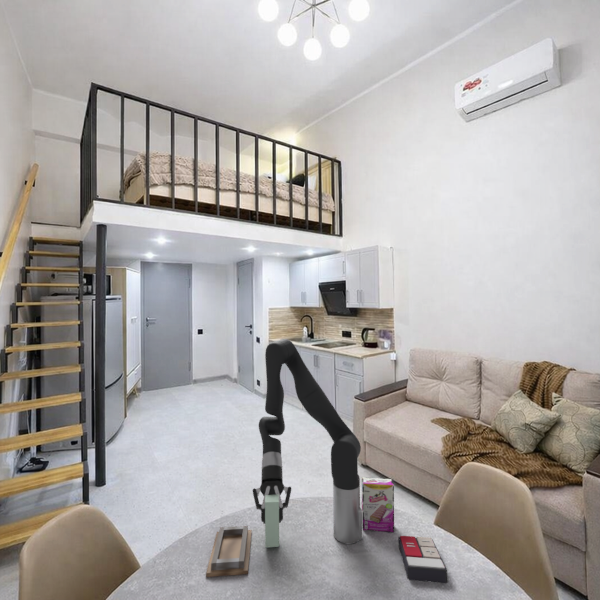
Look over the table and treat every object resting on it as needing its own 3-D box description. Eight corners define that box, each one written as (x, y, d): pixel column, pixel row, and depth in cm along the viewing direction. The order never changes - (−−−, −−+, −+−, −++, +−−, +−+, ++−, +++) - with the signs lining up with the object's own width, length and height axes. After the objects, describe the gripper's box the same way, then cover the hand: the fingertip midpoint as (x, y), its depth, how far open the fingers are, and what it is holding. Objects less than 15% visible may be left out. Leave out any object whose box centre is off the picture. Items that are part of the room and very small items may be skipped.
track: (251, 532, 115) (251, 523, 115) (247, 574, 96) (247, 563, 96) (216, 534, 113) (216, 525, 114) (205, 577, 95) (206, 566, 95)
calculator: (432, 536, 107) (447, 567, 93) (433, 550, 107) (448, 584, 92) (398, 533, 109) (407, 564, 94) (398, 547, 108) (407, 580, 93)
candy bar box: (362, 531, 115) (362, 483, 116) (361, 522, 120) (360, 476, 121) (395, 533, 114) (394, 484, 115) (392, 524, 119) (391, 478, 120)
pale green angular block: (278, 537, 110) (278, 494, 111) (279, 546, 106) (278, 501, 107) (265, 538, 110) (265, 495, 111) (265, 547, 105) (265, 502, 106)
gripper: (251, 464, 117) (249, 520, 104) (291, 462, 118) (294, 517, 105) (252, 473, 122) (250, 527, 109) (291, 471, 123) (293, 524, 110)
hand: (272, 522), depth 107 cm, fingers closed on pale green angular block, 4 cm apart
